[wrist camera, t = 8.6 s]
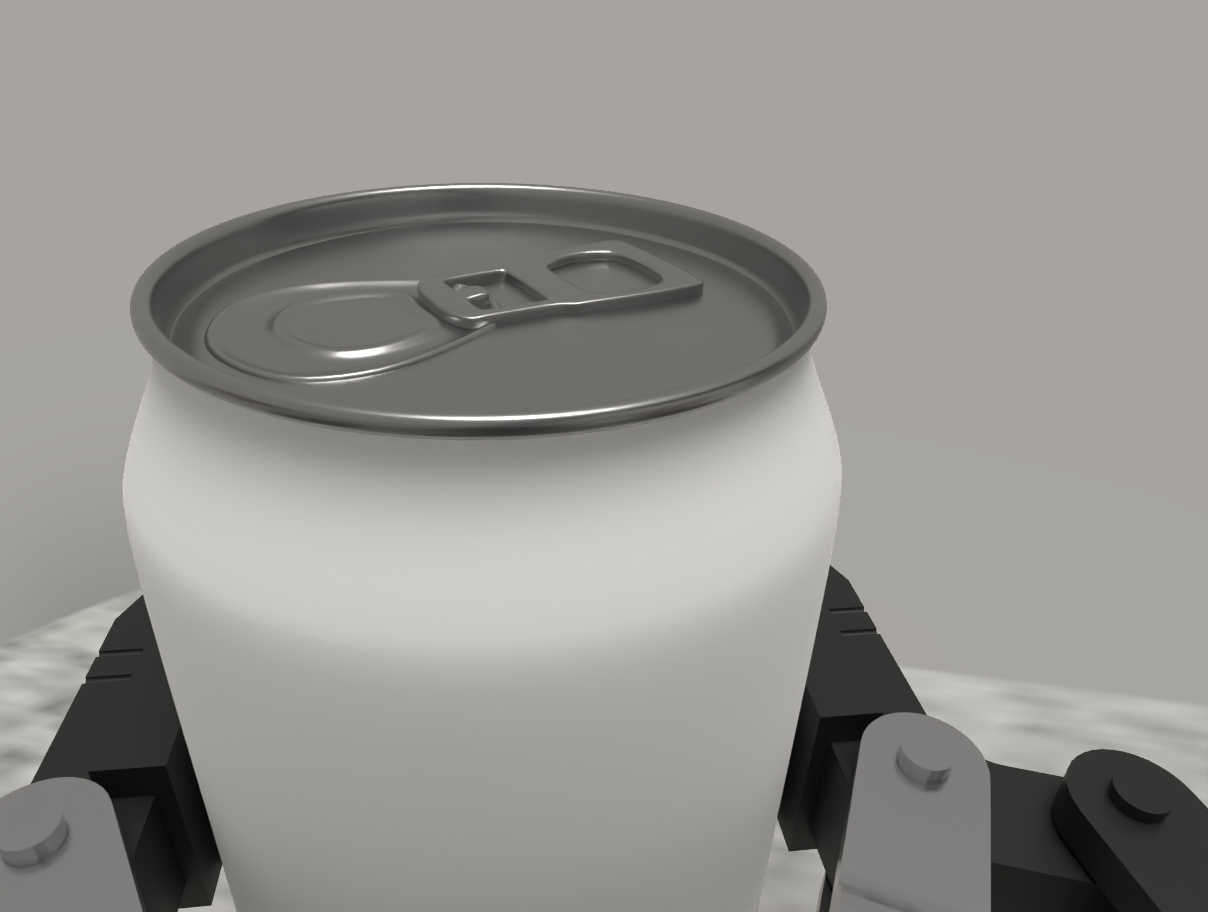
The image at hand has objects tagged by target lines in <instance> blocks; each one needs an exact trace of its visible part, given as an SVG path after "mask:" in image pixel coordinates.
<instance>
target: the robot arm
mask: <svg viewBox="0 0 1208 912" xmlns="http://www.w3.org/2000/svg"><path fill="white" fill-rule="evenodd" d="M777 818H778V821H779V824H780V827H781V830H782V833H783V836H784V839H785V841H786V844H787V847H788V850H789V851H798V850H808V849H818V852H819V855H820V857H821V860H822V863H823V865H824V868H825V874H824V877H823V881H822V885H821V889H820V894H819V900H818V905H817V911H816V912H1208V808H1207V807H1206V806H1205V805H1204V804H1203V803H1202V802H1201V801H1200V800H1199V799H1198V797H1197V796H1196V795H1195V794H1194V793H1193V792H1192V791H1191V790H1190V789H1189V788H1188V787H1187V786H1186V785H1185V784H1184V783H1182V782H1181V781H1180V780H1179V779H1177V778H1176V777H1175V776H1174V775H1172V774H1171V773H1169V772H1168V771H1166V770H1165V769H1163V768H1162V767H1160V766H1158V765H1156V764H1154V763H1152V762H1150V761H1149V760H1146V759H1144V758H1141V757H1139V756H1136V755H1133V754H1130V753H1126V752H1122V751H1117V750H1107V749H1099V750H1091V751H1088V752H1084V753H1082V754H1080V755H1078V756H1077V757H1076V758H1075V759H1074V760H1073V761H1072V762H1071V764H1070V765H1069V767H1068V769H1067V771H1066V774H1065V776H1064V777H1060V776H1055V775H1050V774H1045V773H1039V772H1034V771H1029V770H1024V769H1019V768H1013V767H1008V766H1004V765H1000V764H996V763H992V762H990V761H987V760H985V759H984V757H983V755H982V753H981V752H980V751H979V749H978V748H977V747H976V746H975V744H974V743H973V742H972V741H971V740H970V739H969V738H968V737H966V736H965V735H964V734H962V733H961V732H960V731H959V730H957V729H955V728H954V727H952V726H951V725H949V724H947V723H945V722H943V721H941V720H939V719H936V718H933V717H930V716H927V715H926V713H925V711H924V710H923V708H922V706H921V704H920V703H919V701H918V699H917V698H916V696H915V694H914V692H913V691H912V689H911V687H910V685H909V684H908V682H907V680H906V679H905V677H904V675H903V673H902V672H901V670H900V668H899V666H898V665H897V663H896V661H895V660H894V658H893V656H892V654H891V653H890V651H889V649H888V648H887V646H886V644H885V642H884V641H883V639H882V637H881V635H880V634H877V632H876V627H875V625H874V623H873V622H872V620H871V618H870V616H869V615H868V613H867V612H864V606H863V604H862V603H861V601H860V599H859V598H858V596H857V594H856V592H855V591H854V589H853V587H852V586H851V584H850V582H849V580H848V579H846V578H845V577H844V576H843V575H841V574H840V573H839V572H838V571H836V570H835V569H834V568H833V567H832V566H831V565H830V567H829V572H828V577H827V581H826V586H825V591H824V596H823V601H822V606H821V611H820V616H819V621H818V626H817V631H816V636H815V641H814V646H813V651H812V655H811V660H810V665H809V670H808V674H807V679H806V684H805V689H804V693H803V698H802V703H801V708H800V712H799V717H798V722H797V727H796V731H795V736H794V741H793V746H792V750H791V755H790V760H789V765H788V769H787V774H786V779H785V783H784V788H783V793H782V797H781V802H780V807H779V811H778V816H777ZM221 867H222V860H221V857H220V854H219V851H218V847H217V844H216V841H215V837H214V834H213V831H212V827H211V824H210V821H209V817H208V814H207V811H206V807H205V804H204V801H203V798H202V794H201V791H200V787H199V784H198V781H197V777H196V774H195V771H194V767H193V764H192V760H191V757H190V754H189V750H188V747H187V744H186V740H185V737H184V734H183V730H182V727H181V723H180V720H179V717H178V713H177V710H176V707H175V703H174V700H173V697H172V693H171V690H170V686H169V683H168V680H167V676H166V673H165V669H164V666H163V662H162V659H161V655H160V652H159V648H158V645H157V641H156V638H155V634H154V631H153V628H152V624H151V621H150V617H149V614H148V610H147V607H146V603H145V600H144V596H143V595H142V596H141V597H140V598H139V599H137V600H136V601H135V602H134V603H133V604H132V605H131V606H130V607H129V608H127V609H126V610H125V611H124V612H123V613H122V614H121V615H120V616H119V617H117V618H116V619H115V621H114V623H113V625H112V627H111V629H110V631H109V633H108V634H107V636H106V638H105V640H104V642H103V644H102V646H101V648H100V650H99V657H96V658H95V660H94V662H93V664H92V666H91V668H90V670H89V672H88V673H87V675H86V683H85V684H82V685H81V687H80V689H79V691H78V693H77V695H76V697H75V699H74V701H73V703H72V705H71V707H70V709H69V710H68V712H67V714H66V716H65V718H64V720H63V722H62V724H61V726H60V728H59V730H58V732H57V734H56V736H55V738H54V740H53V742H52V744H51V746H50V747H49V749H48V751H47V753H46V755H45V757H44V759H43V761H42V763H41V765H40V767H39V769H38V771H37V773H36V775H35V777H34V779H33V781H32V782H31V784H30V785H27V786H24V787H22V788H20V789H18V790H15V791H13V792H11V793H9V794H8V795H6V796H4V797H2V798H1V799H0V912H177V911H178V909H180V908H190V907H200V906H210V905H211V904H212V901H213V897H214V893H215V889H216V886H217V882H218V878H219V874H220V870H221Z"/></svg>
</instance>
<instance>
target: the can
mask: <svg viewBox="0 0 1208 912" xmlns="http://www.w3.org/2000/svg"><path fill="white" fill-rule="evenodd" d="M826 310H827V301H826V295H825V291H824V288H823V285H822V283H821V281H820V279H819V278H818V276H817V274H816V273H815V272H814V270H813V269H812V268H811V267H810V266H809V265H808V263H806V262H805V261H804V260H803V259H802V258H801V257H800V256H799V255H797V254H796V253H795V252H794V251H792V250H791V249H789V248H788V247H786V246H785V245H783V244H782V243H780V242H779V241H777V240H775V239H773V238H771V237H770V236H768V235H766V234H763V233H762V232H760V231H757V230H755V229H753V228H751V227H748V226H746V225H743V224H741V223H739V222H736V221H733V220H730V219H728V218H725V217H721V216H719V215H716V214H712V213H709V212H706V211H703V210H699V209H695V208H692V207H688V206H684V205H680V204H675V203H671V202H667V201H662V200H657V199H652V198H647V197H641V196H636V195H630V194H624V193H617V192H610V191H602V190H594V189H585V188H575V187H563V186H551V185H535V184H508V183H454V184H431V185H430V184H429V185H413V186H400V187H389V188H379V189H370V190H362V191H355V192H347V193H340V194H334V195H328V196H322V197H317V198H311V199H306V200H302V201H297V202H292V203H287V204H283V205H279V206H275V207H271V208H268V209H264V210H260V211H257V212H253V213H250V214H247V215H244V216H241V217H237V218H234V219H232V220H229V221H226V222H223V223H221V224H218V225H216V226H213V227H211V228H208V229H206V230H204V231H202V232H200V233H197V234H195V235H193V236H191V237H190V238H188V239H186V240H184V241H182V242H181V243H179V244H177V245H176V246H174V247H172V248H171V249H169V250H168V251H167V252H165V253H164V254H162V255H161V256H160V257H159V258H158V259H156V260H155V261H154V262H153V263H152V264H151V265H150V266H149V267H148V268H147V269H146V270H145V271H144V273H143V274H142V275H141V277H140V278H139V280H138V282H137V283H136V285H135V287H134V290H133V293H132V296H131V302H130V315H131V320H132V325H133V328H134V330H135V333H136V335H137V337H138V339H139V340H140V342H141V344H142V345H143V347H144V348H145V349H146V350H147V351H148V353H149V354H150V355H151V356H152V357H153V360H152V366H151V371H150V375H149V379H148V382H147V385H146V389H145V392H144V395H143V398H142V401H141V404H140V408H139V411H138V414H137V417H136V421H135V425H134V428H133V431H132V435H131V439H130V443H129V448H128V452H127V456H126V461H125V468H124V476H123V504H124V510H125V517H126V524H127V531H128V536H129V541H130V545H131V549H132V553H133V557H134V561H135V565H136V568H137V573H138V577H139V581H140V584H141V588H142V592H143V596H144V600H145V603H146V607H147V610H148V614H149V617H150V621H151V624H152V628H153V631H154V634H155V638H156V641H157V645H158V648H159V652H160V655H161V659H162V662H163V666H164V669H165V673H166V676H167V680H168V683H169V686H170V690H171V693H172V697H173V700H174V703H175V707H176V710H177V713H178V717H179V720H180V723H181V727H182V730H183V734H184V737H185V740H186V744H187V747H188V750H189V754H190V757H191V760H192V764H193V767H194V771H195V774H196V777H197V781H198V784H199V787H200V791H201V794H202V798H203V801H204V804H205V807H206V811H207V814H208V817H209V821H210V824H211V827H212V831H213V834H214V837H215V841H216V844H217V847H218V851H219V854H220V857H221V860H222V864H223V867H224V870H225V874H226V877H227V880H228V884H229V887H230V890H231V894H232V897H233V900H234V904H235V907H236V910H237V912H757V909H758V904H759V900H760V895H761V890H762V886H763V881H764V877H765V872H766V867H767V863H768V858H769V853H770V849H771V844H772V839H773V835H774V830H775V825H776V821H777V816H778V811H779V807H780V802H781V797H782V793H783V788H784V783H785V779H786V774H787V769H788V765H789V760H790V755H791V750H792V746H793V741H794V736H795V731H796V727H797V722H798V717H799V712H800V708H801V703H802V698H803V693H804V689H805V684H806V679H807V674H808V670H809V665H810V660H811V655H812V651H813V646H814V641H815V636H816V631H817V626H818V621H819V616H820V611H821V606H822V601H823V596H824V591H825V586H826V581H827V577H828V572H829V567H830V560H831V555H832V550H833V543H834V538H835V532H836V527H837V521H838V515H839V507H840V495H841V481H842V463H841V457H840V450H839V445H838V440H837V436H836V432H835V428H834V425H833V421H832V417H831V414H830V411H829V408H828V405H827V402H826V399H825V396H824V393H823V390H822V387H821V384H820V381H819V378H818V375H817V372H816V369H815V367H814V363H813V359H812V356H811V350H810V348H811V346H812V345H813V344H814V342H815V341H816V339H817V337H818V336H819V334H820V332H821V330H822V327H823V325H824V321H825V317H826Z"/></svg>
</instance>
